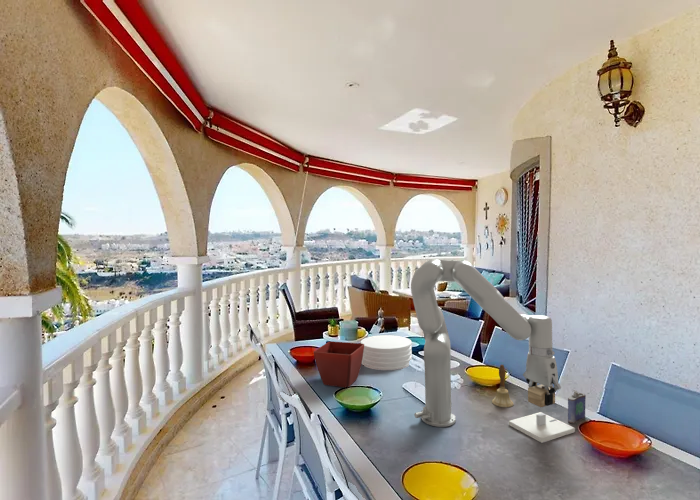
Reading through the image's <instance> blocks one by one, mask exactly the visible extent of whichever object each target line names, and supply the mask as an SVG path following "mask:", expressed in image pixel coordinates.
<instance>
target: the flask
mask: <svg viewBox="0 0 700 500" xmlns="http://www.w3.org/2000/svg"><path fill="white" fill-rule="evenodd" d="M572 392H573V394H571V395H570V396H569V397H567V422H568V424H576V423H579V422H580V421H582V420H584V419H586V394H585V393H583V392H579V391H577V390H576V389H575V390H572ZM578 421H579V422H578Z"/></svg>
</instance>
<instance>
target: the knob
mask: <svg viewBox="0 0 700 500" xmlns="http://www.w3.org/2000/svg"><path fill="white" fill-rule="evenodd" d="M549 390H550V387H549ZM545 394H546V390H545V387H544V385H542V384H537V386H533V387H529V386H528V387H527V403H530V404H533V405H535V406H537V407H540V408H543V407H547V406H546V405H545ZM553 404H554V405H555V404H556V392H555V393H554V394H553ZM553 404H552V405H553Z"/></svg>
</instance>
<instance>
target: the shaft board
mask: <svg viewBox="0 0 700 500" xmlns="http://www.w3.org/2000/svg"><path fill="white" fill-rule="evenodd" d="M508 426H510V427H512V428H514V429H515V430H518V431H519V432H521V433H523V434H525V435H527V436H528V437H530V438H532V439H534V440H536V442H537V441H538V442H539V443H541V444H543V443H546V442H549V441H551V440H552V441H553V440H555V439H557V438H560V437H564V436H567V435H570V434H573V433H575V432H576V428H575V427H574V426H571V425H570V424H569V423H565V422H563V421H562V420H558V419H557V418H555V417H552V416H550V415H548V414H546V413H544V412H542V411H540V412H536V413H535V412H534V413H533V414H527V415H526V416H521V417H517V418H514V419H511V420H508Z"/></svg>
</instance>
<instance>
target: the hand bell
mask: <svg viewBox="0 0 700 500" xmlns="http://www.w3.org/2000/svg"><path fill="white" fill-rule="evenodd" d="M506 375H507V374H506V368H505V366H504V364H500V366H499V368H498V376H499V379H500V381H499V382H500V385H499V388H498V389H496V394H495V396H494V398H493V399H492V400H491V403H492V404H493V405H494V406H496V407H500V408H512V407H514V405H515V404H514V401H513V400H511V397H510V393H509V390H508V389H507V388H506V387H505V379H506Z"/></svg>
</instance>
